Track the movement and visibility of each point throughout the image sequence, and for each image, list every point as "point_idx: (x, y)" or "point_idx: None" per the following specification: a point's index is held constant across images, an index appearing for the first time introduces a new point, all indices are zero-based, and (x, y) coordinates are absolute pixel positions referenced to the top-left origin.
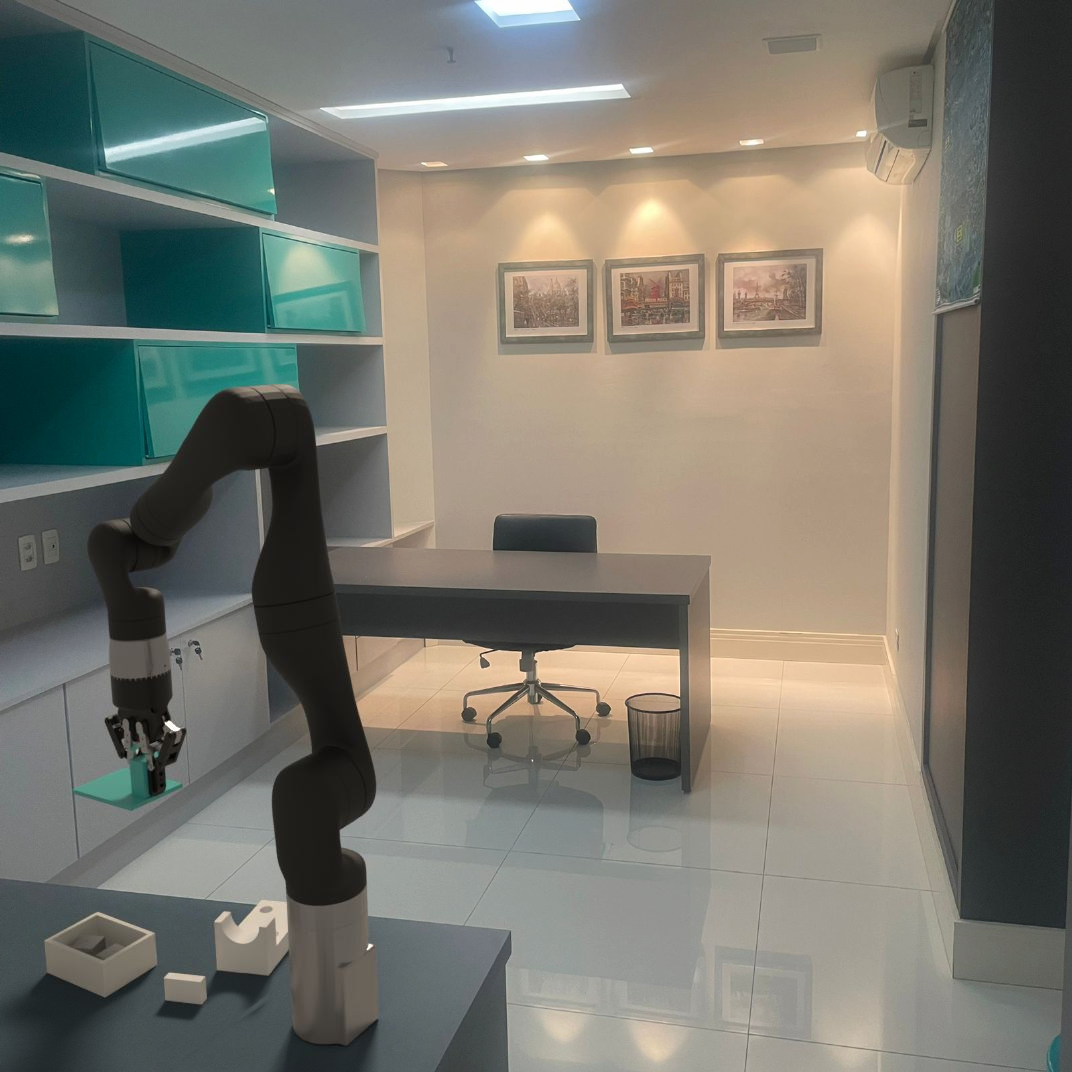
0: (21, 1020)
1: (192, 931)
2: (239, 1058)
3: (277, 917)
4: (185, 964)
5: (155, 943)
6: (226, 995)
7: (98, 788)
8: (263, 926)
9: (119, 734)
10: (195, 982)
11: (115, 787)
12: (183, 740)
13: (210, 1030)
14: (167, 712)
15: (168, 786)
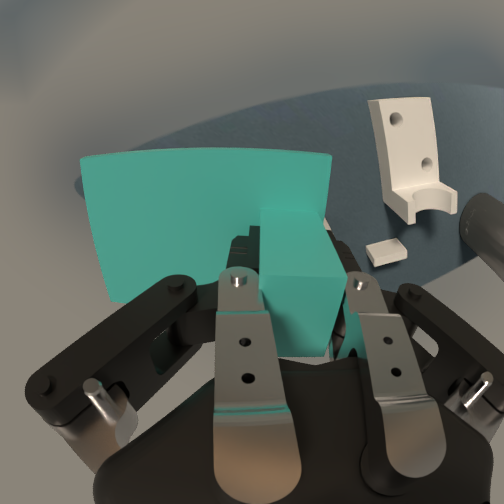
0: None
1: (307, 146)
2: (439, 273)
3: (416, 131)
4: (345, 200)
5: (330, 229)
6: (405, 223)
7: (146, 279)
8: (454, 212)
9: (144, 392)
10: (402, 258)
11: (174, 259)
12: (497, 350)
13: (413, 261)
14: (485, 487)
15: (308, 192)
